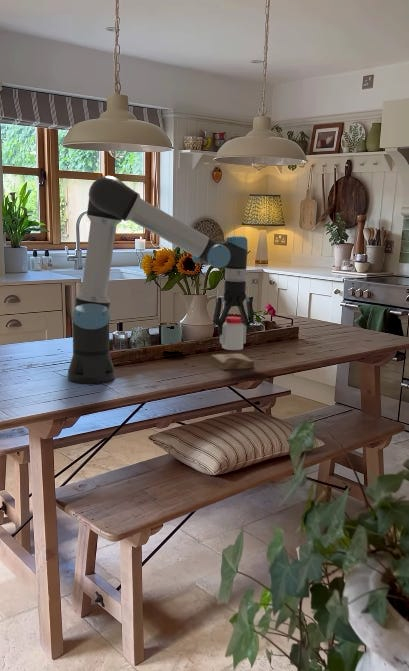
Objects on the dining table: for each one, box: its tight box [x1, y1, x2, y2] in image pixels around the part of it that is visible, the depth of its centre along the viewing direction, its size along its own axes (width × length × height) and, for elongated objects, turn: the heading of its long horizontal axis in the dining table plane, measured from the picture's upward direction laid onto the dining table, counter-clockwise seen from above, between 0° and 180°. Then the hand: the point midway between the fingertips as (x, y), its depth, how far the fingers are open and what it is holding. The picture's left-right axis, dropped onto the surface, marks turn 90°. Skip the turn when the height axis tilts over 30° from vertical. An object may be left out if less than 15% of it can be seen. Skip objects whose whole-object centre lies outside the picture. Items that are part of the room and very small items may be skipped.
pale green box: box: [160, 324, 182, 345], centre depth 238 cm, size 8×8×10 cm
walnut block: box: [210, 352, 255, 371], centre depth 222 cm, size 12×12×3 cm
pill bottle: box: [221, 316, 244, 351], centre depth 220 cm, size 8×8×11 cm
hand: (232, 342), depth 221 cm, fingers closed on pill bottle, 8 cm apart
